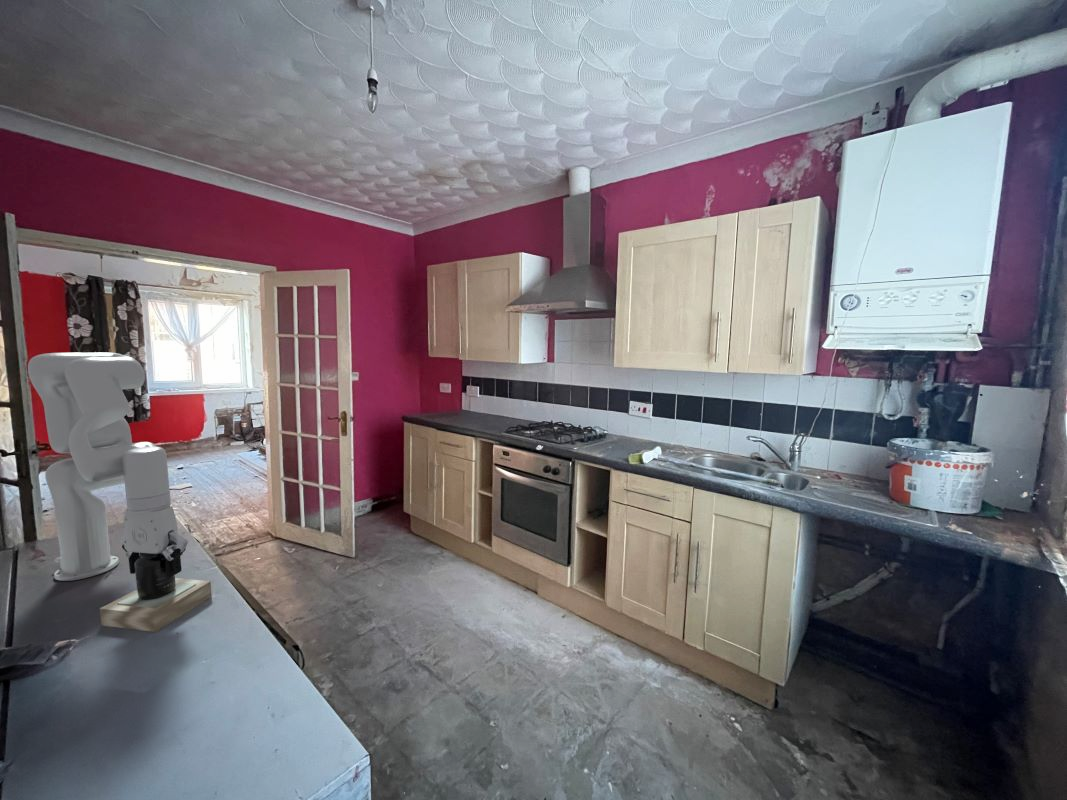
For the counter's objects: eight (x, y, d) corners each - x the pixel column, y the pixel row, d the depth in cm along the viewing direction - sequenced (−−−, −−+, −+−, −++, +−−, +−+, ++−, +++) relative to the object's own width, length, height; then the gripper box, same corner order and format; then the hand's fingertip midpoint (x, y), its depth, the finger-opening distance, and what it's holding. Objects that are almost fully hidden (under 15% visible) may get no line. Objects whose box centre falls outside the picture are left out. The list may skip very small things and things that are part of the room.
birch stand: (101, 625, 98) (99, 607, 98) (163, 591, 112) (161, 575, 112) (155, 631, 96) (153, 613, 96) (211, 596, 110) (210, 580, 110)
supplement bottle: (129, 599, 101) (124, 549, 100) (160, 583, 108) (155, 536, 106) (154, 602, 100) (148, 552, 98) (183, 586, 106) (178, 538, 105)
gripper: (99, 504, 99) (107, 577, 101) (165, 509, 96) (172, 584, 98) (134, 494, 106) (140, 562, 108) (197, 498, 104) (202, 567, 106)
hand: (156, 572), depth 103 cm, fingers open, 9 cm apart
